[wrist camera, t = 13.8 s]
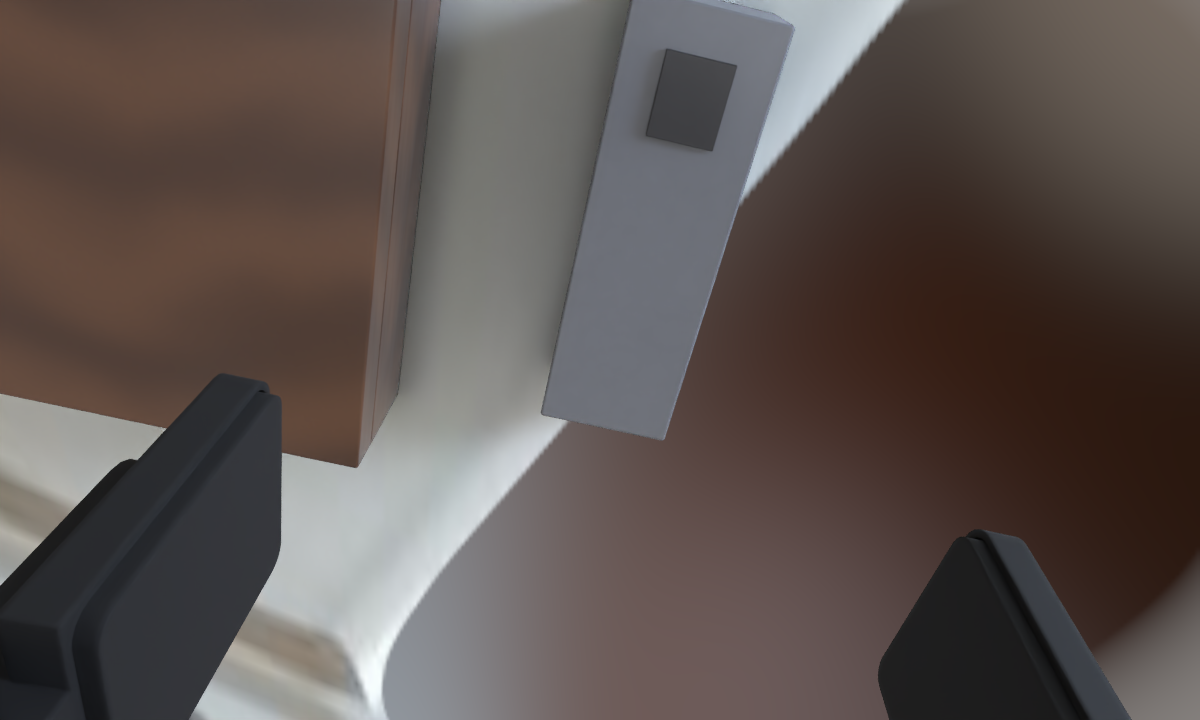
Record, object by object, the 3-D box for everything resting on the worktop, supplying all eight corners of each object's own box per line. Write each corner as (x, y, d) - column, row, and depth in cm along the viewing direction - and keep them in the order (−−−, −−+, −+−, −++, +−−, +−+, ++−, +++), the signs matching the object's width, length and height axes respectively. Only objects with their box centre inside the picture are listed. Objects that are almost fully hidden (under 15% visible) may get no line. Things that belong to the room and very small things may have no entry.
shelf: (-359, -411, 20) (-635, -504, 16) (462, -194, 22) (416, -226, 17) (-162, 273, 30) (-299, 332, 26) (398, 394, 31) (357, 469, 27)
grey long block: (635, -21, 23) (633, -14, 20) (777, 14, 24) (797, 26, 21) (551, 366, 30) (539, 417, 27) (662, 391, 30) (663, 444, 27)
